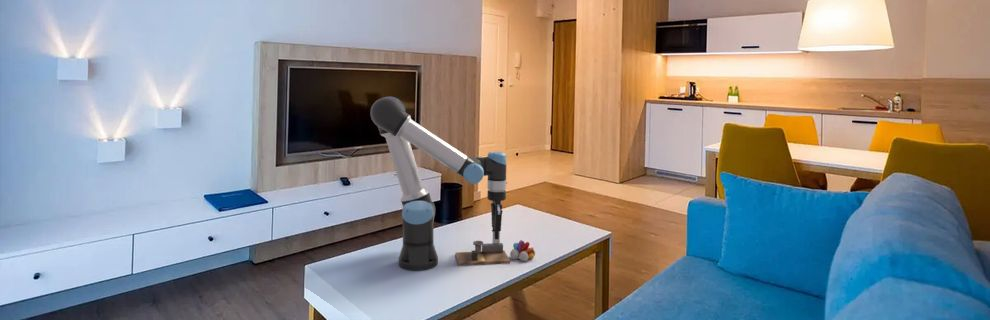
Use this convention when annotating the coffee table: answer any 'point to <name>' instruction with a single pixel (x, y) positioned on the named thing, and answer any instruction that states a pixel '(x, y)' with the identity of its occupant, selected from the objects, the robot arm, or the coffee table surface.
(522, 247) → the multicolored petal toy
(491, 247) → the bar
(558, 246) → the coffee table surface
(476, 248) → the board
